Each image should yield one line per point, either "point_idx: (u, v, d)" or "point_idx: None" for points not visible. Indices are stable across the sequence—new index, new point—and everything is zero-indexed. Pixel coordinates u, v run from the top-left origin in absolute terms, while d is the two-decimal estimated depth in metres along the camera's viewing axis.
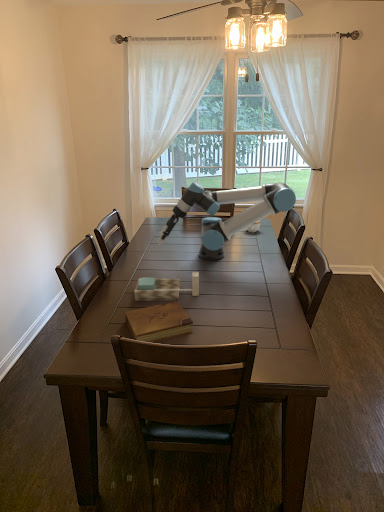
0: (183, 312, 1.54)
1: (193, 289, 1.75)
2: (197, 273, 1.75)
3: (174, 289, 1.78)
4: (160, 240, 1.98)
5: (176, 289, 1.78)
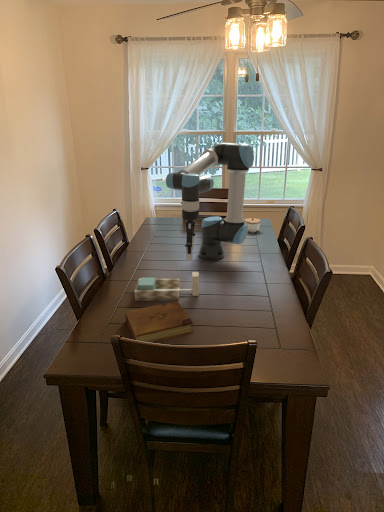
0: (183, 312, 1.53)
1: (193, 289, 1.75)
2: (197, 273, 1.75)
3: (174, 289, 1.78)
4: (188, 255, 1.65)
5: (176, 289, 1.78)
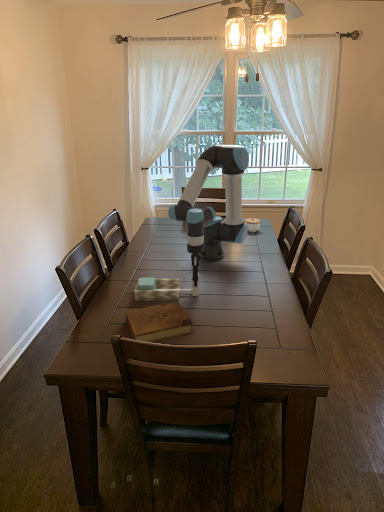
0: (183, 312, 1.53)
1: None
2: None
3: (174, 289, 1.78)
4: (195, 288, 1.74)
5: (176, 289, 1.78)
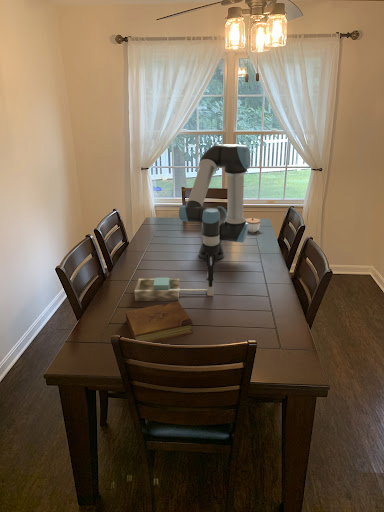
0: (183, 313, 1.53)
1: None
2: None
3: (189, 289, 1.78)
4: (210, 288, 1.74)
5: (191, 289, 1.78)
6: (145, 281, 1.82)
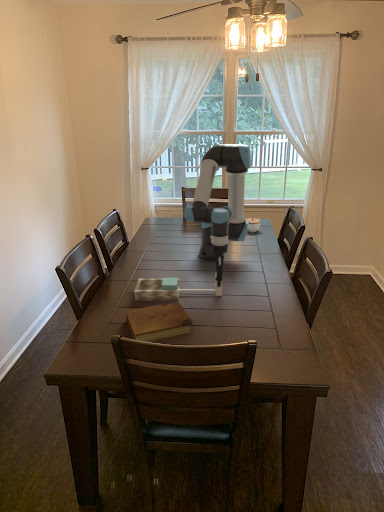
0: (183, 313, 1.53)
1: None
2: None
3: (197, 289, 1.78)
4: (218, 288, 1.74)
5: (199, 289, 1.78)
6: (145, 281, 1.82)
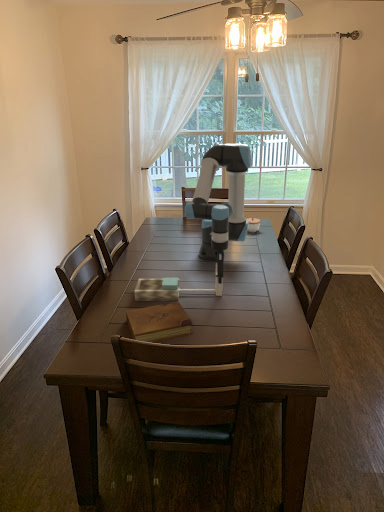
0: (183, 313, 1.53)
1: (216, 289, 1.75)
2: None
3: (197, 289, 1.78)
4: (219, 285, 1.69)
5: (199, 289, 1.78)
6: (145, 281, 1.82)
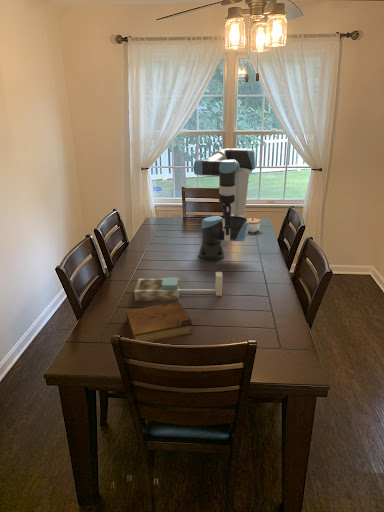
0: (183, 313, 1.53)
1: (216, 289, 1.75)
2: (220, 273, 1.75)
3: (197, 289, 1.78)
4: (226, 236, 1.78)
5: (199, 289, 1.78)
6: (145, 281, 1.82)
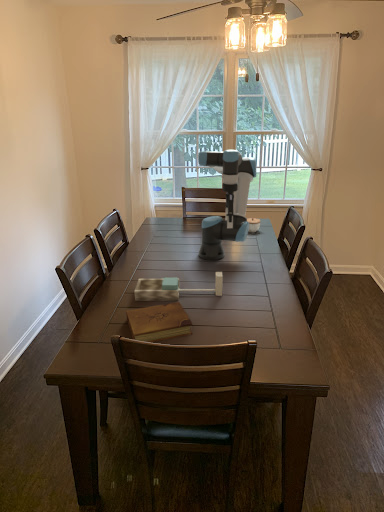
0: (183, 313, 1.53)
1: (216, 289, 1.75)
2: (220, 273, 1.75)
3: (197, 289, 1.78)
4: (229, 224, 1.84)
5: (199, 289, 1.78)
6: (145, 281, 1.82)
